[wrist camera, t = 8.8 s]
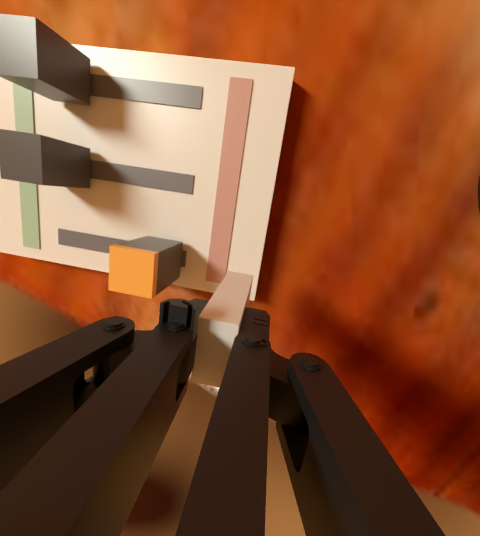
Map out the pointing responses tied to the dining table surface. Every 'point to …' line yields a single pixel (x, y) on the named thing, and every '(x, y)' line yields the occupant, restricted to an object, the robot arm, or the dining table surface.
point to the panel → (155, 163)
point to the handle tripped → (144, 265)
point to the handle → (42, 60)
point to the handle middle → (43, 160)
